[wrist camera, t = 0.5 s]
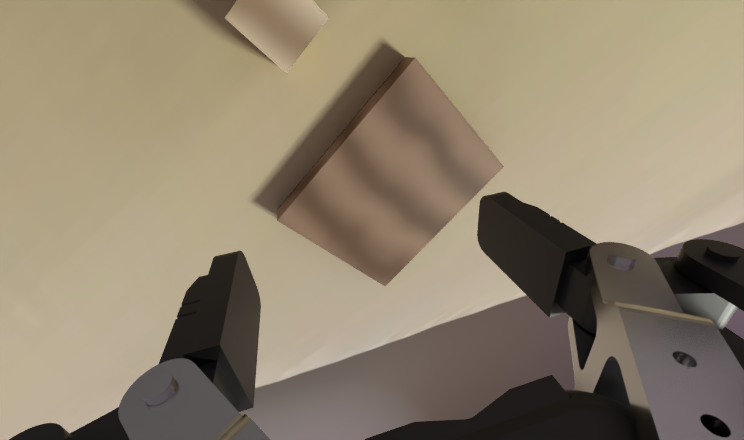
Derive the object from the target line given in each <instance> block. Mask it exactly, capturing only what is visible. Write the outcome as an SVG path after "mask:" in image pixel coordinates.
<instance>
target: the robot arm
mask: <svg viewBox="0 0 744 440" xmlns="http://www.w3.org/2000/svg"><path fill="white" fill-rule="evenodd" d="M477 236H478V242H479V245H480V247H481V249H482V250H483V252H484V253H485V254H486V255H487V256H488V257H489V258H490V259H491V260H492V261H493V262H494V263H495V264H496V265H497V266H498V267H499V268H500V269H501V270H502V271H503V272H504V273H505V274H506V275H507V276H508V277H509V278H510V279H511V280H512V281H513V282H514V283H515V284H516V285H517V286H518V287H519V288H520V289H521V290H522V291H523V292H524V293H525V294H526V295H527V296H529V298H531V300H532V301H533V302H534V303H536V305H537V306H538V307H540V309H542V311H544V313H545V314H546V315H547V316H548V317H553V316H556V315H559V314H562V313H567V314H568V315H569V316H570V319H569V322H568V330H569V338H570V345H571V353H572V361H573V368H574V376H575V390H564V389H563V388H562V387H561V386H560V384H559V383H558V382H557V381H556V379H555V378H554V377H553V376H552V375H550V376H547V377H544V378H541V379H538V380H536V381H533V382H530V383H527V384H524V385H521V386H518V387H515V388H512V389H509V390H508V391H507V392H506V393H504V394H503V395H502V396H500V397H499V398H498V399H496V400H495V401H494V402H492V403H491V404H490V405H489V406H487V407H486V408H485V409H483V410H482V411H481V412H479V413H478V414H477V415H475V416H474V417H472V418H470V419H465V420H445V421H426V422H413V423H410V424H408V425H405V426H402V427H399V428H396V429H393V430H390V431H387V432H384V433H381V434H378V435H376V436H373V437H370V438H367V439H365V440H744V339H742V338H741V337H739V336H738V335H736V334H735V333H733V332H732V331H730V330H729V329H727V328H726V327H725V326H726V324H727V323H728V321H729V320H730V318H731V317H732V315H733V314H734V312H735V311H736V309H737V308H739V309H741V310H743V311H744V249H742V248H740V247H737V246H734V245H731V244H728V243H724V242H719V241H714V240H703V239H700V240H699V239H697V240H690V241H687V242H686V243H684V245H683V247H682V249H681V251H680V253H679V255H678V257H669V258H667V257H666V258H653V257H652V256H651V255H649V254H648V253H646V252H644V251H643V250H640V249H638V248H636V247H633V246H630V245H626V244H622V243H614V242H604V243H599V244H596V243H594V242H593V241H591V240H590V239H588V238H586V237H585V236H583V235H582V234H580V233H578V232H577V231H575V230H573V229H572V228H570V227H569V226H567V225H565V224H564V223H560V221H559V220H557V219H556V218H554V217H552V216H551V217H550V215H549V214H548V213H546V212H544V211H543V210H541V209H539V208H538V207H535V206H532V205H529V204H526V203H523V202H521V201H519V200H518V199H516V198H515V197H513V196H512V195H510V194H508V193H507V192H501V193H496V194H492V195H487V196H484V197H482V198H481V200H480V207H479V220H478V234H477ZM260 309H261V305H260V297H259V292H258V289H257V286H256V284H255V281H254V279H253V276H252V274H251V271H250V268H249V266H248V263H247V261H246V258H245V256H244V254H243V252H242V251H237V252H233V253H228V254H224V255H219V256H215V257H214V258H213V261H212V264H211V268H210V271H209V274H208V275H206V276H202V277H199V278H198V279H197V280H196V281H195V282H194V283H193V284H192V285H191V287H190V288H189V289H188V290H187V292H186V294H185V297H184V299H183V302H182V307H180V310H179V312H178V315H177V319H176V320H175V323H174V325H173V328H172V331H171V333H170V336H169V339H168V341H167V344H166V346H165V349H164V352H163V354H162V357H161V359H160V362H159V364H158V365H157V366H155V367H153V368H151V369H150V370H148V371H147V372H145V373H144V374H143V375H142V376H140V377H139V378H138V379H137V380H136V381H135V382H134V383H133V384H132V385H131V386H130V388H129V389H128V390H127V392H126V393H125V395H124V396H123V398H122V400H121V403H120V405H119V407H118V408H116V409H115V410H113V411H111V412H109V413H107V414H106V415H104V416H102V417H100V418H98V419H96V420H94V421H92V422H91V423H89V424H87V425H85V426H83V427H81V428H79V429H77V430H76V431H74V432H72V433H70V434H69V433H68V432H67V431H66V430H65V429H64V428H63V427H61V426H60V425H58V424H55V423H47V424H42V425H38V426H35V427H32V428H30V429H27V430H25V431H23V432H21V433H19V434H18V435H16V436H14V437H13V438H11V439H9V440H270V439H269V438H268V437H267V436H266V434H265V433H264V432H263V431H262V430H261V429H260V428H259V427H258V426H257V425H256V424H255V422H254V421H253V420H252V419H251V418H249V417H248V416H247V415H244V416H242V415H241V414H240V413H239V412H240V411H243V410H247V409H249V408H253V403H254V390H255V377H256V364H257V350H258V336H259V323H260Z"/></svg>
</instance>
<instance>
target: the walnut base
mask: <svg viewBox="0 0 744 440" xmlns="http://www.w3.org/2000/svg"><path fill="white" fill-rule="evenodd" d="M503 167H504V166H503V165H502V164H501V163H500V161H499V160H498V159H497V158H496V156H495V155H494V154H493V153H492V151H491V150H490V149H489V148H488V147H487V145H486V144H485V143H484V142H483V140H482V139H481V138H480V137H479V136H478V134H477V133H476V132H475V131H474V129H473V128H472V127H471V126H470V124H469V123H468V122H467V121H466V120H465V118H464V117H463V116H462V115H461V113H460V112H459V111H458V110H457V108H456V107H455V106H454V105H453V104H452V102H451V101H450V100H449V99H448V97H447V96H446V95H445V94H444V92H443V91H442V90H441V89H440V88H439V86H438V85H437V84H436V83H435V81H434V80H433V79H432V78H431V77H430V75H429V74H428V73H427V72H426V70H425V69H424V68H423V67H422V65H421V64H420V63H419V62H418V61H417V59H416V58H410V57H405V58H404V60H403V61H402V62H401V63H400V64H399V65H398V67H397V68H396V69H395V70H394V71H393V73H392V74H391V75H390V76H389V77H388V79H387V80H386V81H385V82H384V83H383V85H382V86H381V87H380V88H379V89H378V90H377V92H376V93H375V94H374V95H373V96H372V98H371V99H370V100H369V101H368V102H367V104H366V105H365V106H364V107H363V108H362V110H361V111H360V112H359V113H358V114H357V115H356V117H355V118H354V119H353V120H352V121H351V123H350V124H349V125H348V126H347V127H346V129H345V130H344V131H343V132H342V133H341V135H340V136H339V137H338V138H337V139H336V140H335V142H334V143H333V144H332V145H331V146H330V148H329V149H328V150H327V151H326V152H325V154H324V155H323V156H322V157H321V158H320V160H319V161H318V162H317V163H316V164H315V165H314V167H313V168H312V169H311V170H310V171H309V173H308V174H307V175H306V176H305V177H304V179H303V180H302V181H301V182H300V183H299V185H298V186H297V187H296V188H295V189H294V191H293V192H292V193H291V194H290V195H289V196H288V198H287V199H286V200H285V201H284V202H283V204H282V205H281V206H280V207H279V208H278V210H277V221H279V222H281V223H282V224H284V225H286V226H287V227H289V228H291V229H292V230H294V231H295V232H297V233H299V234H300V235H302V236H304V237H305V238H307V239H309V240H310V241H312V242H313V243H315V244H317V245H318V246H320V247H322V248H323V249H325V250H327V251H328V252H330V253H331V254H333V255H335V256H336V257H338V258H340V259H341V260H343V261H345V262H346V263H348V264H350V265H351V266H353V267H354V268H356V269H358V270H359V271H361V272H363V273H364V274H366V275H368V276H369V277H371V278H372V279H374V280H376V281H377V282H379V283H381V284H382V285H384V286H386V285H387V284H388V283H389V282H390V281H391V280H392V279H393V278H394V277H395V276H396V275H397V274H398V273H399V272H400V271H401V270H402V269H403V268H404V267H405V266H406V265H407V264H408V263H409V262H410V261H411V260H412V259H413V258H414V257H415V256H416V255H417V254H418V253H419V252H420V251H421V250H422V249H423V248H424V247H425V246H426V245H427V244H428V243H429V242H430V241H431V240H432V239H433V238H434V237H435V236H436V235H437V233H438V232H439V231H440V230H441V229H442V228H443V227H444V226H445V225H446V224H447V223H448V222H449V221H450V220H451V219H452V218H453V217H454V216H455V215H456V214H457V213H458V212H459V211H460V210H461V209H462V208H463V207H464V206H465V205H466V204H467V203H468V202H469V201H470V200H471V199H472V198H473V197H474V196H475V195H476V194H477V193H478V192H479V191H480V190H481V189H482V188H483V187H484V186H485V185H486V184H487V183H488V182H489V181H490V180H491V179H492V178H493V177H494V176H495V175H496V174H497V173H498V172H499V171H500V170H501V169H502V168H503Z"/></svg>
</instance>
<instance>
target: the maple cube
mask: <svg viewBox="0 0 744 440" xmlns="http://www.w3.org/2000/svg"><path fill="white" fill-rule="evenodd" d="M328 18H329V17H328V16H327V15H326V14H325V13H324V12H323V11H322V10H321V9H320V8H319V6H318V5H317V4H316V3H315V2H314V1H313V0H237V1H236V2H235V4H234V5H233V7H232V8H231V10H230V11H229V12H228V14H227V15H226V17H225V19H226V20H227V21H228V22H230V23H231V24H232V25H233V26H234V27H235V28H236V29H237V30H238V31H240V32H241V33H242V34H243V35H244V36H245V37H246V38H247V39H248V40H250V41H251V42H252V43H253V44H254V45H255V46H256V47H257V48H258V49H260V50H261V51H262V52H263V53H264V54H265V55H266V56H267V57H268V58H270V59H271V60H272V61H273V62H274V63H275V64H276V65H277V66H278V67H280V68H281V69H282V70H283V71H284V72H285V73H287V72H288V71H289V69H290V68H291V67H292V65H293V64H294V63H295V62H296V60H297V59H298V58H299V56H300V55H301V54H302V52H303V51H304V50H305V48H306V47H307V46H308V44H309V43H310V42H311V41H312V39H313V38H314V37H315V35H316V34H317V33H318V31H319V30H320V29H321V27H322V26H323V25H324V23H325V22H326V21H327V20H328Z"/></svg>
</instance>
